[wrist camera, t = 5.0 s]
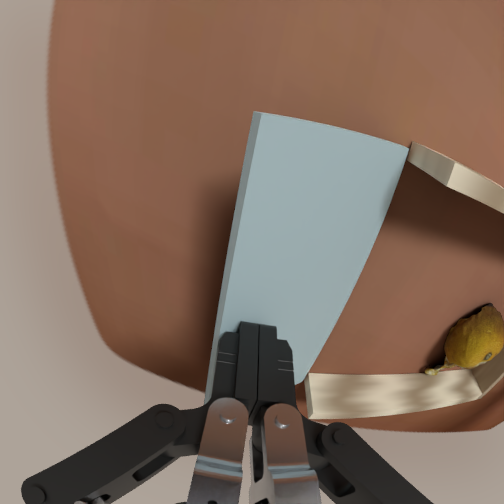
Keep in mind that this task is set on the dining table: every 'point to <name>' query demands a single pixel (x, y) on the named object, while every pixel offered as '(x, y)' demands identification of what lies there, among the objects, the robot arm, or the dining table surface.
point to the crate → (419, 384)
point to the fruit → (473, 340)
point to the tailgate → (302, 230)
